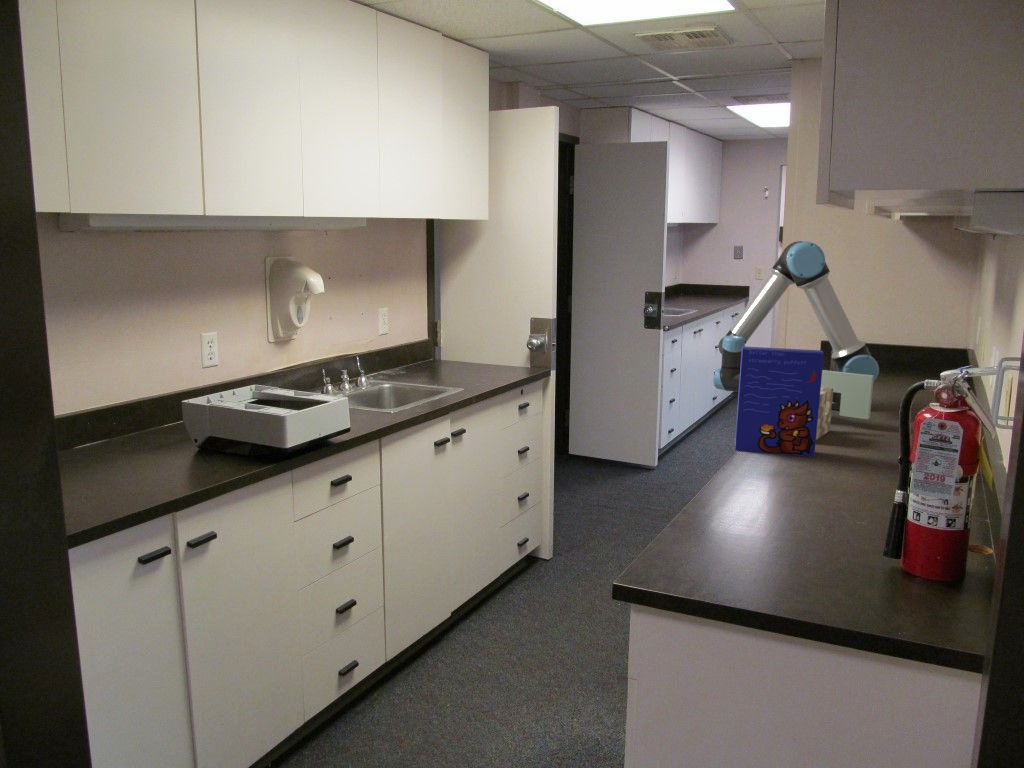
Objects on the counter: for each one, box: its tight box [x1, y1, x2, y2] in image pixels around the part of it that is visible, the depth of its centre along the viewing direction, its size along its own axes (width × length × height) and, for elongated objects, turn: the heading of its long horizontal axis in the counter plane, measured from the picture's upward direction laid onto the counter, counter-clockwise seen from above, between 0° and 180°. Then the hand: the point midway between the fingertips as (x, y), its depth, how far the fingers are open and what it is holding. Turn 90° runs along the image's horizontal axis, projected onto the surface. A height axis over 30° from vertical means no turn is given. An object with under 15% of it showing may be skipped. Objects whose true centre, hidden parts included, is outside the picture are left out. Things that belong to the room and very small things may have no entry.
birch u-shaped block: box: [816, 387, 833, 441], centre depth 255 cm, size 20×2×14 cm, turn 144°
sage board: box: [821, 369, 874, 420], centre depth 270 cm, size 22×2×14 cm, turn 54°
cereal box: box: [734, 345, 825, 458], centre depth 236 cm, size 22×6×30 cm, turn 76°
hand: (827, 392), depth 272 cm, fingers closed on sage board, 2 cm apart
